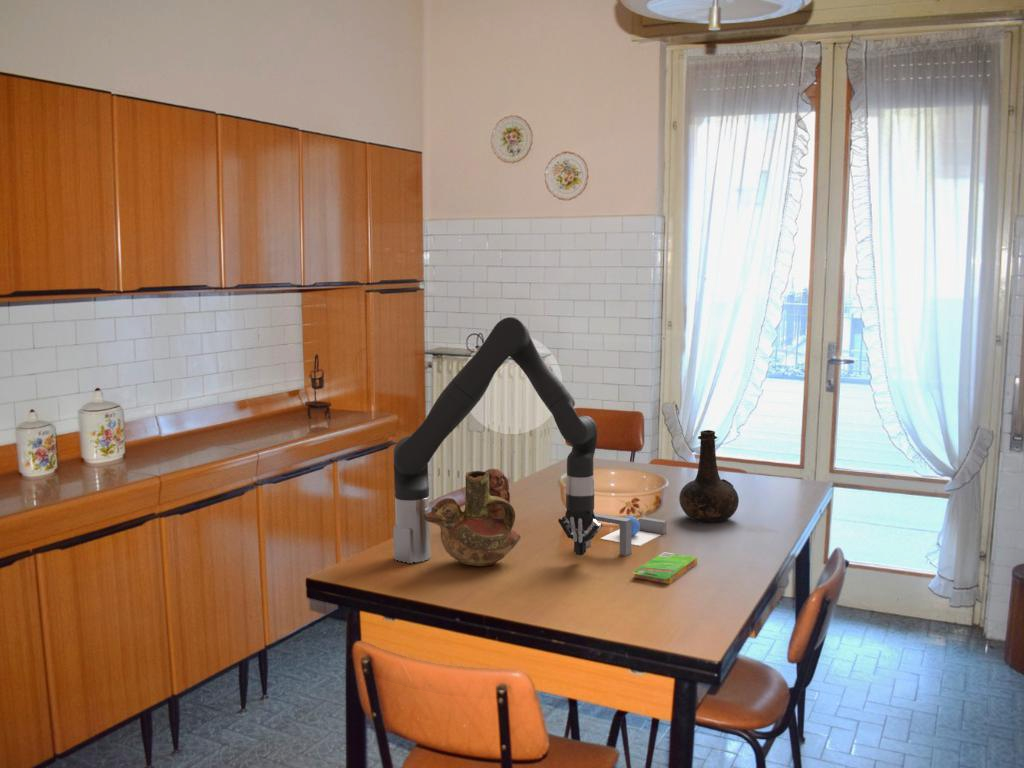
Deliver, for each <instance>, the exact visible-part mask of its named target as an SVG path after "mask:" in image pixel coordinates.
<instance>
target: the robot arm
mask: <svg viewBox="0 0 1024 768" xmlns="http://www.w3.org/2000/svg"><path fill="white" fill-rule="evenodd" d="M509 357H510V358H511V359H512V361H514V362H515V364H517V365H518V366H519V368H520V369H521V370H522V372H523V373H524V374H525V375H526V378H528V380H529V382H530V384H531V386H532V387H533V389H534V390H535V392H536V393H537V395H538V397H539V399H541V401H542V403H544V405H545V407H546V408H547V409H548V411H549V412H550V413H551V415H552V417H553V419H554V422H555V424H556V426H557V428H558V431H559V433H560V435H561V436H562V438H563V439H564V440H565V441H566V442H567V443H568V444H570V445H572V446H571V451H570V453H568V455H567V458H566V481H565V508H566V511H565V515H564V516H562V517H560V518H558V523H559V525H560V526H561V528H562V530H563V532H564V533H565V535H566V537H567V538H568V539H571V540H572V541H573V552H574V554H575V556H579V557H581V556H584V555H585V554H586V552H587V548H586V542H587V541H589V540H591V541H592V540H593V538H595V536H596V535H597V534H598V532H600V530H601V529H602V528H603V523H601V522H599V521H596V520H595V515H594V513H595V512H594V511H595V491H596V490H595V489H596V488H595V478H594V477H595V476H594V457H595V451H596V447H597V442H598V427H597V424H596V421H595V420H594V419H593V418H592V417H591V416H588V415H580V416H579V415H578V413H577V411H576V410H575V408H574V407H575V406H576V402H575V399H574V398H573V396H572V394H571V393H570V392H569V390H568V389H567V388H566V386H565V385H564V384H563V382H562V381H561V380H560V378H559V377H558V376H557V375H556V374H555V372H554V371H553V370H552V369H551V368H550V367H549V365H548V364H547V363H546V362H545V360H544V358H543V357H542V356H541V354H540V353H539V351H538V349H537V347H536V345H535V343H534V341H533V339H532V337H531V335H530V332H529V330H528V327H527V326H526V325H525V324H524V322H522V320H520V319H519V318H517V317H514V316H513V317H512V316H509V317H508V316H507V317H504V318H503V319H500V321H498V322H497V323H496V324H495V326H493V328H492V330H491V332H490V333H489V334H488V335H487V337H486V339H485V340H484V342H483V343H482V344H481V346H480V348H479V349H478V350H477V352H475V354H474V355H473V356H472V357H471V358H470V359H469V361H467V362H466V363H465V365H464V366H463V367H462V368H461V369H460V370H459V372H458V373H457V374H455V376H454V377H453V378H452V380H451V381H450V382H449V383H448V384H447V385H446V386H445V388H444V389H443V390H442V392H441V393H440V395H439V396H438V397H437V399H436V401H435V402H434V404H433V405H432V407H431V409H430V411H429V412H428V415H427V416H426V418H425V419H424V421H423V422H422V423H421V424H420V425H419V427H418V428H417V429H416V430H415V431H414V432H413V433H412V434H411V435H410V436H405V437H403V438H401V439H400V440H399V441H398V442H397V443H396V444H395V446H394V448H393V475H394V477H393V479H394V482H393V483H394V485H393V486H394V507H395V509H394V510H395V511H394V513H395V525H394V526H393V528H392V530H393V560H394V559H395V560H394V561H397V560H398V561H397V562H401V561H402V562H403V563H405V562H407V563H406V564H410V563H411V564H414V563H413V562H415V563H422V562H425V560H426V561H428V560H430V558H431V529H430V528H431V527H430V526H431V525H430V523H431V522H427V521H426V520H425V517H424V515H425V514H427V513H429V512H430V489H429V488H430V485H429V483H430V482H429V468H428V466H429V462H430V461H431V459H432V458H433V456H434V455H435V454H436V452H437V451H438V449H439V447H440V446H441V445H442V444H443V442H444V441H445V439H447V437H448V436H449V435H450V434H451V433H452V432H453V431H454V430H455V429H456V428H457V427H458V426H459V425H460V424H461V423H462V422H463V421H464V419H465V418H466V417H467V416H468V414H470V413H471V411H472V410H473V409H474V408H475V407H476V406H477V404H478V403H479V402H480V400H482V398H483V396H484V395H485V393H486V391H487V390H488V387H490V383H491V381H492V379H493V377H494V376H495V373H496V372H497V371H498V369H499V368H500V367H501V366H502V365H503V364H504V363H505V362H506V360H508V358H509ZM590 525H591V530H590V532H589V533H588V531H589V527H590ZM587 533H588V534H587ZM421 561H422V562H421ZM402 562H401V563H402Z"/></svg>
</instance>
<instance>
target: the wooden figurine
mask: <svg viewBox="0 0 1024 768" xmlns="http://www.w3.org/2000/svg"><path fill="white" fill-rule="evenodd" d="M484 472H488V473H489V494H490V496H496V497H500V498H503V499H505V500H506V501H508V502H509V503H510V504H511V493H510V486H509V479H508V478H507V476H505V474H504V472H503V471H501V470H500V469H497V468H489V469H487V470H485V471H484ZM490 513H491V515H493V516H494V517H497V518H503V517H504V516H505V510H504V508H503V507H502V506H501V505H499V504H493V505H491V507H490Z"/></svg>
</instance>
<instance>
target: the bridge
mask: <svg viewBox="0 0 1024 768" xmlns="http://www.w3.org/2000/svg"><path fill="white" fill-rule="evenodd" d="M594 515H595V520H596V521H597V522H602V523H609V524H613V525H618V526H619V525H620V542H619V556H624V557H627V556H628V555H631V554H632V545H631V519H629V518H624V517H622V516H616V515H609V514H604V513H598V512H594ZM591 526H592V524H591V525H590V527H589V531H588V533H589V532H590V530H591V529H592V528H591ZM588 533H587V534H588ZM591 543H592V539H591V540H589V541H587V542H586V549H587V548H589V547H590V546H592V544H591Z"/></svg>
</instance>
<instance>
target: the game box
mask: <svg viewBox="0 0 1024 768" xmlns="http://www.w3.org/2000/svg"><path fill="white" fill-rule="evenodd" d="M696 565H698V557H697V556H692V555H685V554H680V553H679V554H678V553H673V552H665V551H663V552H661V553H660V554H659V555H657V556H655V557H654V558H652V559H651V560H649V561H648V562H646V563H644V564H643V565H640V566H639V567H638V568H636V569H635V570H633V571H632V574H633V576H634V578H635V579H641V580H646V581H650V582H651V581H652V582H657V583H661V584H662V583H663V584H668V585H670V584H671V583H673V582H675V581H676V580H678V579H679V578H680V577H682V576H683V575H684V574H685V573H686V572H688V571H689V570H690V569H692V568H694V567H695V566H696Z"/></svg>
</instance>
